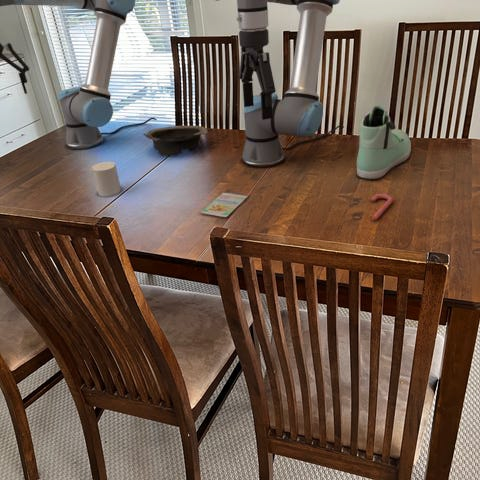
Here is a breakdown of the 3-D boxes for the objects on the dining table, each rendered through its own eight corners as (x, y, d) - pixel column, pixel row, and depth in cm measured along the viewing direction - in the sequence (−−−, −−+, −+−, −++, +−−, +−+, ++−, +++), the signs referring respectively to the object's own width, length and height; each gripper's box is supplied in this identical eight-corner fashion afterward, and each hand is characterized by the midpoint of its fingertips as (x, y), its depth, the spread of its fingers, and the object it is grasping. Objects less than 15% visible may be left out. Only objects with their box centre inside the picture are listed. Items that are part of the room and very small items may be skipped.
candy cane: (355, 217, 134) (355, 212, 134) (376, 195, 144) (376, 191, 144) (376, 222, 131) (376, 217, 130) (395, 199, 141) (396, 195, 141)
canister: (98, 188, 163) (92, 163, 158) (120, 185, 165) (115, 160, 160) (98, 198, 157) (91, 172, 152) (121, 194, 158) (115, 168, 154)
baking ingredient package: (199, 211, 142) (223, 191, 153) (199, 213, 142) (223, 192, 154) (226, 216, 138) (248, 195, 150) (226, 217, 139) (248, 196, 150)
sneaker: (416, 146, 176) (423, 89, 165) (393, 183, 150) (400, 120, 140) (378, 142, 182) (383, 87, 171) (351, 177, 156) (354, 116, 146)
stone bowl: (160, 165, 176) (155, 140, 172) (140, 150, 196) (135, 128, 192) (220, 149, 185) (217, 125, 181) (195, 136, 205) (192, 115, 201)
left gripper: (-61, 36, 146) (-35, 106, 157) (24, 25, 155) (43, 92, 166) (-60, 34, 152) (-35, 101, 163) (22, 23, 161) (41, 87, 172)
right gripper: (223, 25, 130) (230, 103, 142) (258, 37, 110) (262, 127, 121) (249, 22, 132) (253, 99, 143) (287, 33, 112) (289, 121, 123)
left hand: (5, 96), depth 165 cm, fingers open, 13 cm apart
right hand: (257, 112), depth 132 cm, fingers open, 13 cm apart
